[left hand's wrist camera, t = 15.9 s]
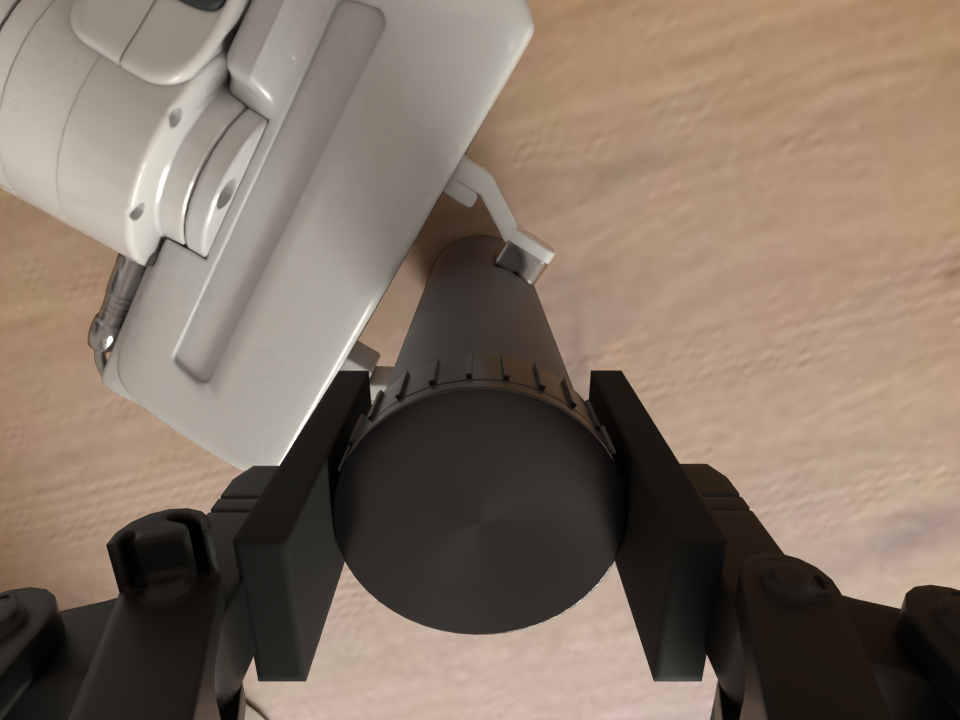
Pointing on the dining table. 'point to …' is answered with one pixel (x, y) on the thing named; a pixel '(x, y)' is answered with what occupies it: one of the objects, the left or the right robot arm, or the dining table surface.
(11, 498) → the dining table surface
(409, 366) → the dark grey cylinder
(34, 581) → the dining table surface
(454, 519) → the lid
